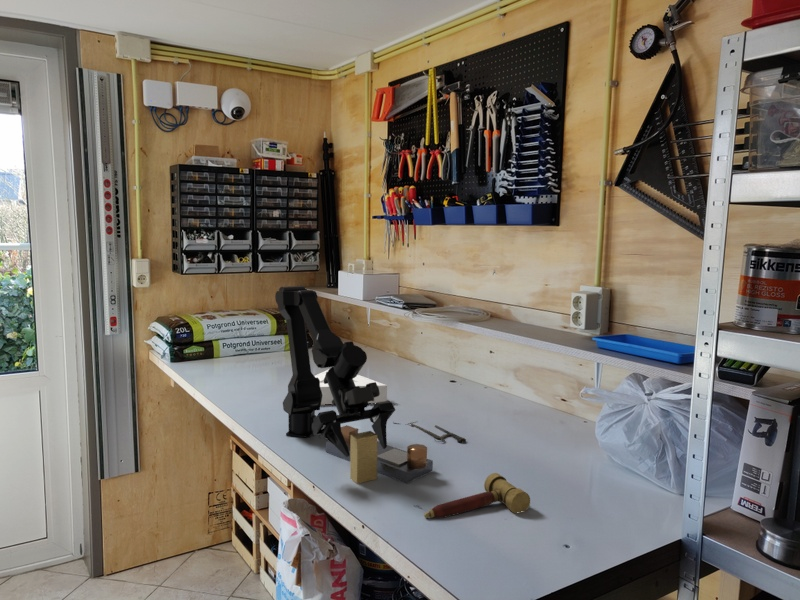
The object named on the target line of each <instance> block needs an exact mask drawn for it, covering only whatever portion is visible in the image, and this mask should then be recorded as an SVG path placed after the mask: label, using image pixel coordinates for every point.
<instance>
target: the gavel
mask: <svg viewBox="0 0 800 600" xmlns="http://www.w3.org/2000/svg"><path fill="white" fill-rule="evenodd" d="M483 487H484V490H485V492H480V493H477V494H473V495H469V496H465V497H463V498H462V497H461V498H458V499H454V500H451V501H447V502H444V503H440V504H437V505H436V506H434V507H433V508H431V509H429V510H428V512H427V511H426V512H425V513H424V515H423V516H424V518H425V519H428V518H430V517H431V518H430V519H434V518H433V517H443V518H446V517H445V516H447V517H450V516H449V515H451V516H454V515H453V514H455V515H458V514H457V513H459V514H462V513H466V512H469V511H472V510H476V509H480V508H483V507H487V506H489V505H492V504H494V503H496V502H502V503H503V504H505V506H506V508H507V509H508V510H509V509H510V510H509V511H511V512H512V513H513V514H518V513H517V512H521V511H525V512H527V510H528V509H529V507H530V505H531V497H530V494H529V493H528V492H526V491H524V490H523V489H522V488H519V487H518V488H517V487H516V486H515V485H513V484H512V483H510V482H509V481H507V479H506V477H504V476H503V475H501V474H500V473H497V472H494V473H491V474H489V475H488V476H487V477H486V479H485V480H484V484H483ZM465 511H466V512H465ZM521 513H522V512H521Z"/></svg>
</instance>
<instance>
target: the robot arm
mask: <svg viewBox="0 0 800 600" xmlns="http://www.w3.org/2000/svg"><path fill="white" fill-rule="evenodd" d="M274 297H275V299H274V300H275V302H276V304H277V309H278V312H279V313H280V314H281V316H282V317H283V319H284V320H285V321H286V323H285V324H286V328H287V329H286V330H287V338H288V345H289V346H288V347H289V354H290V355H289V356H290V363H291V369H292V376H291V378H290V380H289V381H288V385H287V394H286V396H285V398H284V399H283V401H282V409H283V412H285V413H287V414H288V431H287V432H285V436H288V437H289V436H290V437H298V438H310V437H311V436H313V435H314V436H320V438H324V439H326V440H327V442H328V441H330V442H331V443H332V444H333V445H335V446H336V447H337V448H338V449H339V450H340V451H341V452H342V453H343V454H344V455H345V456H346V457H349V455H350V454H349V450H348V447H347V444H346V442H345V439H344V437H343V434H342V432H341V427H342V425H341V424H347V423H351V422H357V421H362V420H369V422H370V423H372V425H371V428H372V430H373V433H375V434H377V441H378V442H380V444H381V446H382V447H383V449H385V448H386V447H387V445H388V444H387V423H388V421H389V419H390V418H391V417H392V415H393V414H394V413H395V411H396V407H395V406H394V403H393V402H392V401H390V400H387V401H384V402H378V403H376V404H373V407H372V408H371V409H370V408H369V409H365V408H368V406H369V405H370V404H368V402H369V401H374V397H377V396H379V394H380V392H379V388H378V386H377V384H376V382H374V383H369V384H367V385H366V387H363V388H360V387H359V386H355V383H354V381H353V378H355V377H356V376H357V375H359V373H360V371H361V370H362V368H363V367H364V365H365V364H366V362H367V360H368V355H367V353H366V351H365V350H363V349H362V347H360V346H357V345H355V344H354V342H353V341H342V338H341V337H340V336H339V335H337V334H335V333H334V332H333V331H332V330H331V328H330V326H329V323H328V321H327V319H326V316H325V314H324V312H323V310H322V308H321V305H320V303H319V301H318V294H317V292H316V291H315V290H314V289H313V290H312V289H307V288H305V286H303V285H295V286H294V285H291V286H290V285H289V286H280V287H279V289H278V290H276V291H275V296H274ZM306 328H307V329H306ZM307 330H308V332H309V334H310V337H311V340H312V342H313V344H312V349H311V353H312V360H313V363H314V364H315V366H316V367H317V368H320V369H327V368H328V369H329V370H328V369H327V370H328V372H326V375H325V378H324V384H328V385H329V388H330V391H331V393H332V396H333V400H332V404H333V405H332V406H336V409H337V412H338V414H337V412H336V410H327V411H322V412H321V411H320V409H321V406H322V405H321V401H322V391H321V389H320V380H319V379H318V378H315V375H314V374H313V373H312V368H311V361H310V352H309V344H308V337H307V335H308V334H307ZM316 411H320V412H318V413H317V415H315V414H316Z"/></svg>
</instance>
